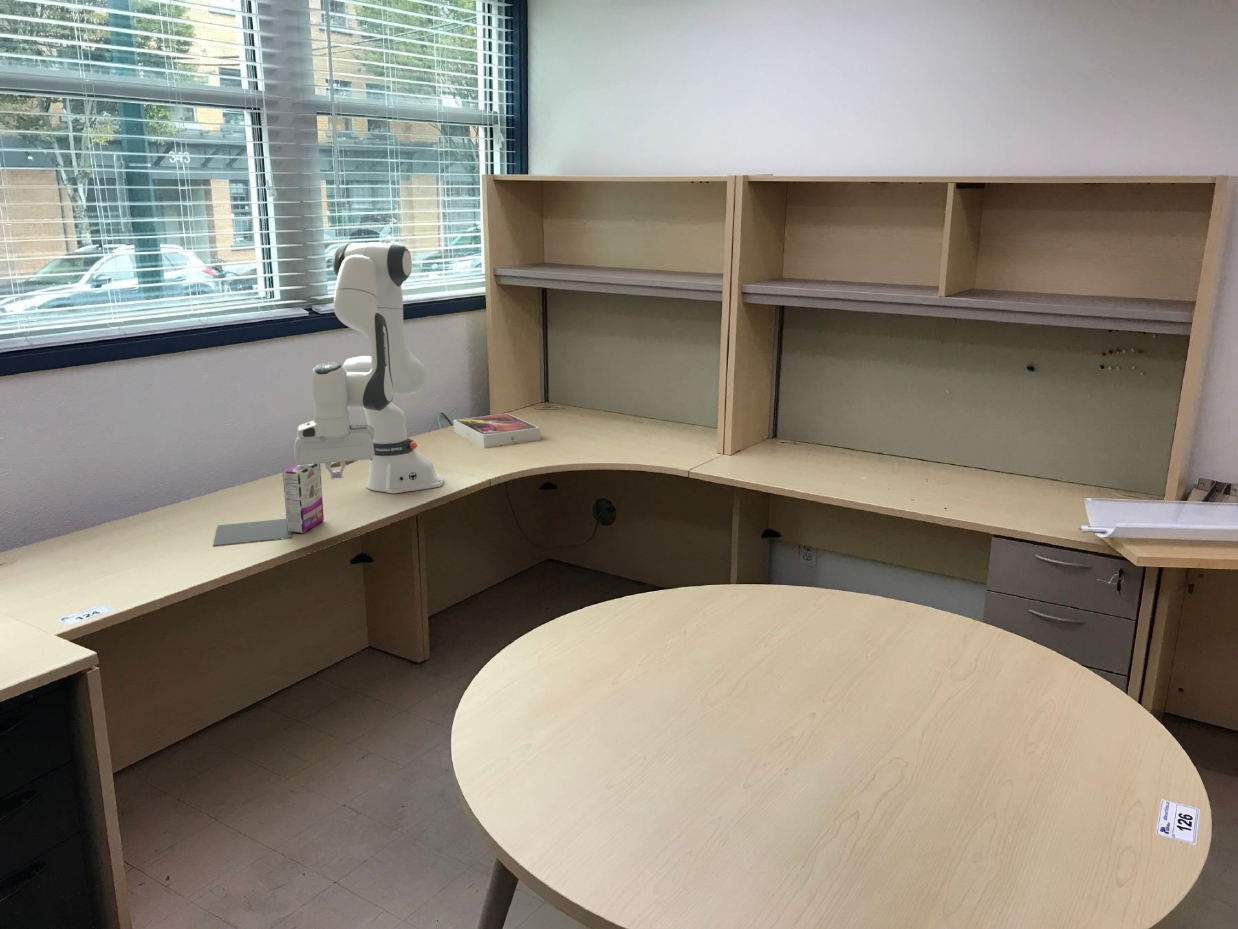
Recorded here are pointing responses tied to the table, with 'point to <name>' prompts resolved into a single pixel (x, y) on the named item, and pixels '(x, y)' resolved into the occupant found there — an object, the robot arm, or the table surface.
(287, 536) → the mat
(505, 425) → the product packaging
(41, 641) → the table surface
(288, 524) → the candy bar box
